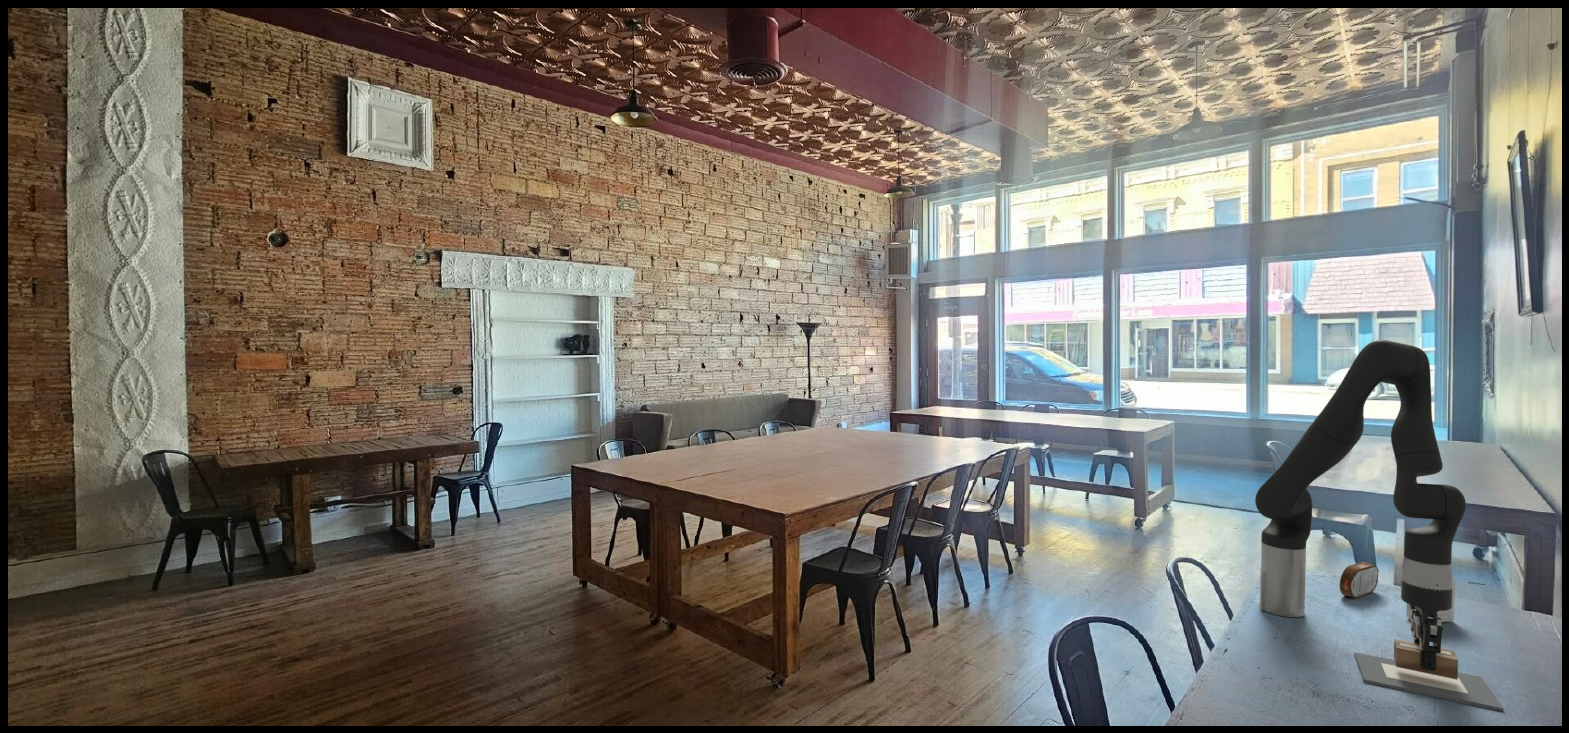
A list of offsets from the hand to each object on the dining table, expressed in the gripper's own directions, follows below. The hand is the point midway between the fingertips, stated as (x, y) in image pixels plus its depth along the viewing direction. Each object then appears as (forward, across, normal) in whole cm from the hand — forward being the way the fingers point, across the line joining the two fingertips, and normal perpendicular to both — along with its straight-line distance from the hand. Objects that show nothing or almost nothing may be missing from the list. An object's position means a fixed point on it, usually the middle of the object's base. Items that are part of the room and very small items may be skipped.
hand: (1424, 663), depth 138 cm
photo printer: (+4, +40, -8) cm, 41 cm away
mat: (+4, 0, 0) cm, 4 cm away
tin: (+4, +52, +4) cm, 52 cm away
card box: (+1, 0, 0) cm, 1 cm away
